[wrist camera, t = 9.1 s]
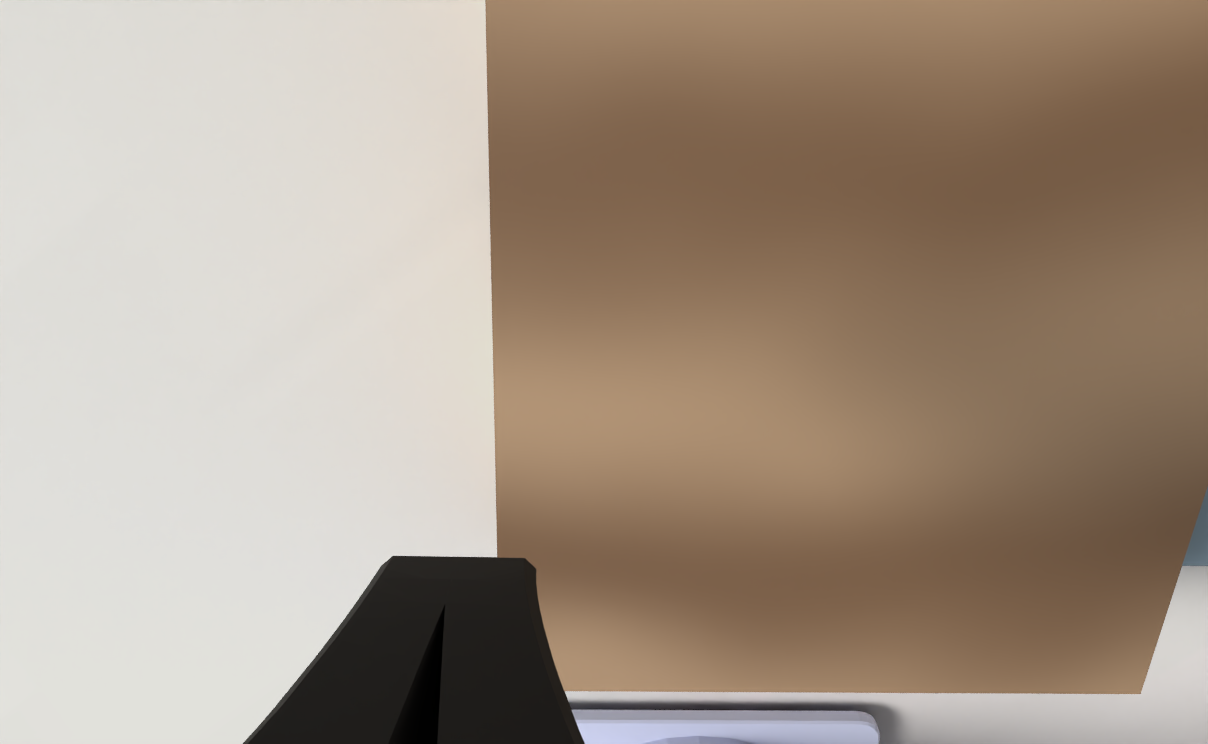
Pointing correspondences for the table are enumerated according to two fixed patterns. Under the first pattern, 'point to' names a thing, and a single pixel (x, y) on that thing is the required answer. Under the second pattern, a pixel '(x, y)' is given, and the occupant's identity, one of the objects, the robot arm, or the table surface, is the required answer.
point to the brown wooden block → (850, 337)
